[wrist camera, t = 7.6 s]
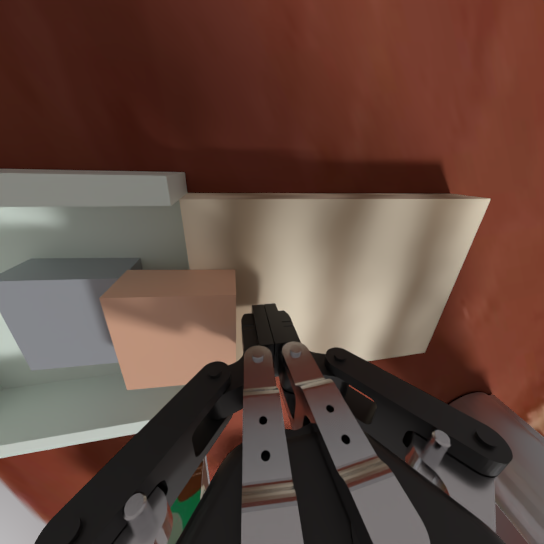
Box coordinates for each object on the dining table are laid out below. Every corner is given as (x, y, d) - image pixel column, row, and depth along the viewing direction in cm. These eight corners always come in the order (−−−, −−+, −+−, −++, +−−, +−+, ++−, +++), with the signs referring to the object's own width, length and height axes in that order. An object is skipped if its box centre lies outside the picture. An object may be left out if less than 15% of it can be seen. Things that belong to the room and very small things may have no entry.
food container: (143, 447, 24) (96, 615, 15) (203, 436, 25) (192, 586, 16) (162, 500, 29) (135, 648, 20) (210, 489, 30) (205, 624, 21)
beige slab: (450, 193, 18) (490, 198, 15) (402, 331, 24) (424, 352, 21) (187, 192, 14) (179, 199, 11) (209, 356, 20) (207, 385, 17)
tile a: (235, 269, 14) (236, 294, 11) (235, 344, 16) (235, 380, 13) (127, 269, 13) (99, 298, 10) (145, 350, 15) (126, 390, 12)
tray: (184, 172, 14) (165, 175, 9) (210, 365, 21) (207, 420, 16) (-175, 165, 11) (-461, 165, 6) (-1, 394, 18) (-76, 471, 13)
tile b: (140, 257, 15) (122, 278, 12) (154, 330, 17) (141, 360, 14) (30, 258, 13) (-17, 281, 11) (63, 336, 16) (31, 370, 13)
